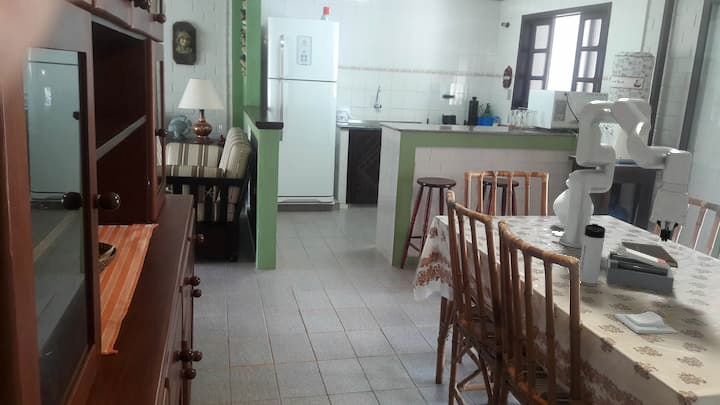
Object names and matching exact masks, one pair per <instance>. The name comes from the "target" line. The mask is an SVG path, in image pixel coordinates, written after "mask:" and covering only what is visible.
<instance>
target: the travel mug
mask: <svg viewBox="0 0 720 405" xmlns="http://www.w3.org/2000/svg"><path fill="white" fill-rule="evenodd" d="M605 234H606V228H605V227H604V226H602V225H599V224H598V223H591V224H590V225H586V227H585V234H584V240H583V247H582V248H581V253H580V262H579V267H580V281H581V284H580V285H582V286H586V287H596V286H597V285H598V280H599V275H600V267H601V261H602V255H603V249H604V242H605Z"/></svg>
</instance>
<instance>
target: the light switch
mask: <svg viewBox="0 0 720 405" xmlns="http://www.w3.org/2000/svg"><path fill="white" fill-rule="evenodd" d="M614 318H615V319H616V320H618V321H619V322H621V323H622V324H623V323H624V324H623V325H625V326H626V327H628V328H629V329H630V330H632V332H635V333H636V334H645V335H646V334H679V332H678V331H677V330H676V329H674V328H673V327H671V326H670V325H669V324H668V323H666V322H664V319H663V317H662V316H661V315H659V314H657V313H656V312H654V311H652V310H651V311H645V312H643V313H637V314H636V313H635V314H633V313H628V314H627V313H616V314H614Z"/></svg>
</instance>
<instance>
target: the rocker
mask: <svg viewBox="0 0 720 405" xmlns="http://www.w3.org/2000/svg"><path fill="white" fill-rule="evenodd" d="M615 252H616V253H617V254H618V255H624V256H627V257H630V258H633V259H636V260H639V261H642V262H645V263H648V264H651V265H653V266H656V267H662V268H666V266H667V264H666V261H665V260H662V259H659V258H655V257H652V256H649V255H646V254H643V253H640V252H637V251H634V250H631V249H628V248H626V247H623V246H622V245H620V244H617V245H616V248H615Z"/></svg>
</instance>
